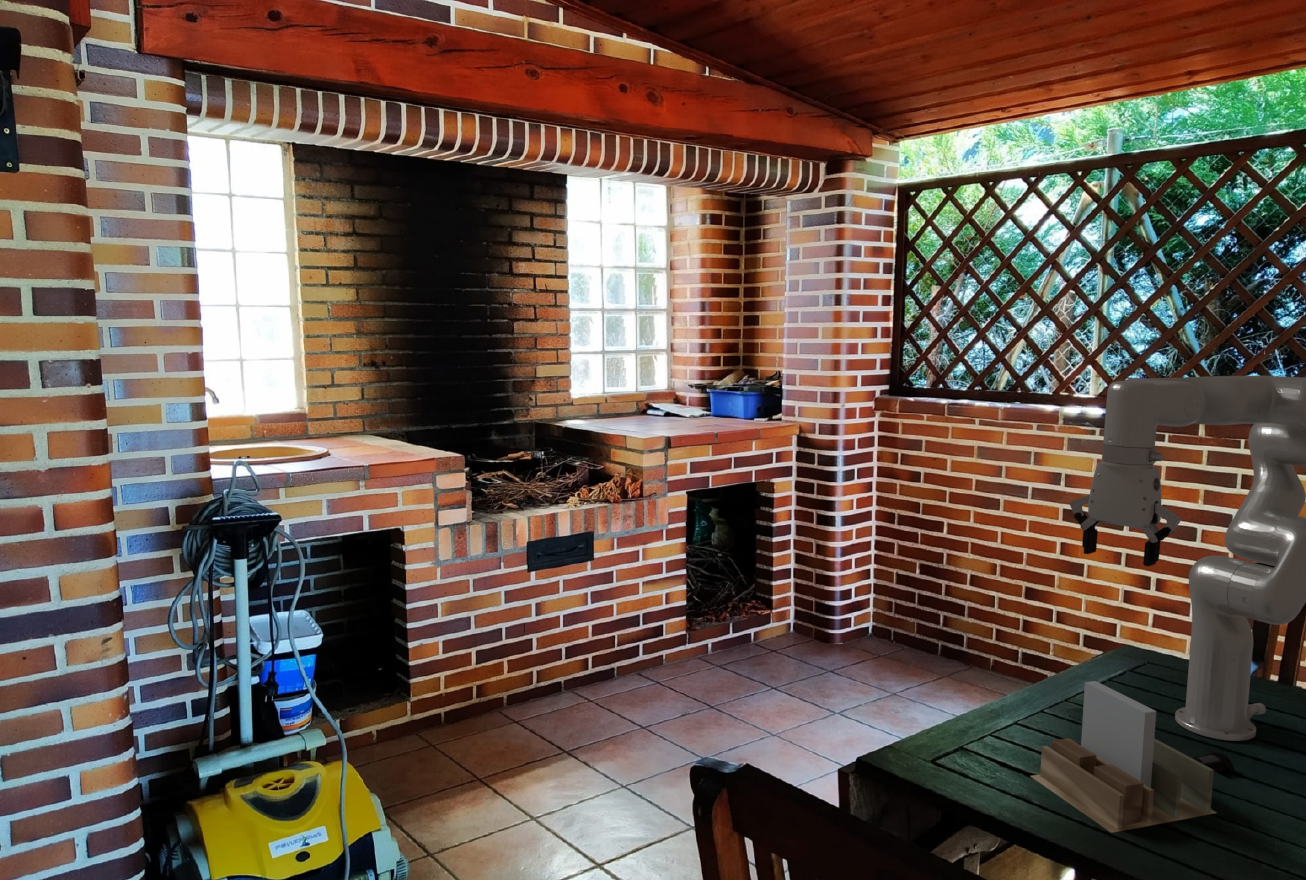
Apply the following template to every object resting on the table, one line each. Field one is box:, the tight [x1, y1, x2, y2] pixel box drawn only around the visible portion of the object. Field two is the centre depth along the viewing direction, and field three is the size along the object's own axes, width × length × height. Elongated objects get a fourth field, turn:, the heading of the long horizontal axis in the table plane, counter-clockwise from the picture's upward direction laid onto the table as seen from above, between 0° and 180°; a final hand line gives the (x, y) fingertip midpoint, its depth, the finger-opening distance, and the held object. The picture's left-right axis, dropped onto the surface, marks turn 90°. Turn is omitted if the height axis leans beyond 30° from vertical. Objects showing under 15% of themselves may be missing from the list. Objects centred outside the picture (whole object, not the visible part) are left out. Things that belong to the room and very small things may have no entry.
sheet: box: [1080, 680, 1157, 788], centre depth 139 cm, size 2×12×15 cm, turn 16°
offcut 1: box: [1051, 737, 1097, 776], centre depth 141 cm, size 3×6×6 cm, turn 16°
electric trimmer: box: [1191, 751, 1235, 773], centre depth 147 cm, size 4×16×3 cm, turn 110°
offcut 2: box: [1094, 764, 1144, 826], centre depth 133 cm, size 3×6×6 cm, turn 16°
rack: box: [1030, 737, 1218, 834], centre depth 138 cm, size 19×17×8 cm
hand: (1118, 558), depth 150 cm, fingers open, 9 cm apart
